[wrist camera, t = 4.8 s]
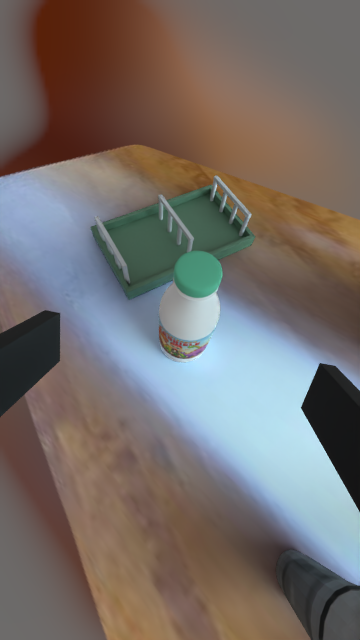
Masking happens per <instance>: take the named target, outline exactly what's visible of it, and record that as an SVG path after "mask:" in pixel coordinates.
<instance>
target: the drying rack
mask: <svg viewBox="0 0 360 640" xmlns="http://www.w3.org/2000/svg"><path fill="white" fill-rule="evenodd" d="M217 184H218V185H219V186H220V187H221V188H222V190H223V191H224V193H223V197H221V196H220V195H219V193H218V192H217V191H216V187H217ZM227 195H228V196H229V198H230V199H231V200H232V201H233V202H234V203H235V204H234V207H233V210H232V209H231V207H230V206H229V205H228V204H227V203H226V198H227ZM158 199H159V203H157V204H154V205H152V206H149V207H146V208H143V209H140V210H137V211H134V212H132V213H129V214H126V215H123V216H120V217H117V218H114V219H112V220H109V221H106V222H103V223H102V222H101V220H100V219H99V217H98V216H96V217H94V218H95V221H96V225H95V226H92V227H91V230H92V233H93V236H94V238H95V240H96V242H97V243H98V245H99V247H100V249H101V251H102V252H103V254H104V256H105V258H106V260H107V261H108V263H109V265H110V267H111V269H112V270H113V272H114V274H115V276H116V278H117V279H118V281H119V283H120V285H121V287H122V288H123V290H124V292H125V294H126V296H127V298H128V299H129V300H130V299H132V298H134V297H136V296H139V295H141V294H143V293H145V292H148V291H150V290H152V289H154V288H156V287H159V286H161V285H163V284H165V283H168V282H170V281H172V280H173V277H174V267H175V264H176V262H177V260H178V259H179V258H180V257H181V256H182V255H183V254H185V253H187V252H190V251H204V252H207V253H209V254H211V255H213V256H214V257H215V258H216V259H217V260H219V259H221V258H224V257H226V256H228V255H230V254H233V253H235V252H237V251H239V250H241V249H244V248H246V247H248V246H250V245H252V243H253V240H254V238H255V236H254V234H253V233H252V232H251V231H250V230H249V228H248V227H247V223H248V221H249V218H250V217H251V215H252V214H251V213H250V212H249V211H248V210H247V209H246V208H245V206H244V205H243V204H242V203H241V202H240V201H239V200H238V199H237V197H236V196H235V195H234V194H233V193H232V192H231V191H230V190H229V188H228V187H227V186H226V185H225V184H224V183H223V182H222V180H221V179H220V178H219V177H218V176H217V175H216V176H214V182H213V186H212V185H209V186H206V187H203V188H200V189H197V190H194V191H191V192H189V193H186V194H183V195H180V196H177V197H174V198H172V199H169V200H165V198H164V197H163V196H162V194H161V195H158ZM237 208H239V209H240V210H241V211H242V213H243V214H244V215H245V216H246V217H245V219H244V222H243V221H242V220H241V219H240V218H239V217H238V216H237V214H236V211H237Z"/></svg>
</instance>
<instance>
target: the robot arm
mask: <svg viewBox="0 0 360 640" xmlns="http://www.w3.org/2000/svg"><path fill="white" fill-rule="evenodd" d="M59 361H60V313H56V312H51V311H46V310H45V311H43V312H41V313H39V314H37V315H35V316H33V317H31V318H30V319H28V320H26V321H24V322H22V323H20V324H18V325H16V326H14V327H12V328H10V329H9V330H7V331H5V332H3V333H1V334H0V417H1V416H2V415H3V414H4V413H5V412H6V411H7V410H8V409H9V408H10V407H11V406H12V405H14V404H15V403H16V402H17V401H18V400H19V399H20V398H21V397H22V396H23V395H24V394H25V393H26V392H27V391H28V390H29V389H31V388H32V387H33V386H34V385H35V384H36V383H37V382H38V381H39V380H40V379H41V378H42V377H43V376H44V375H45V374H46V373H48V372H49V371H50V370H51V369H52V368H53V367H54V366H55V365H56V364H57V363H58V362H59ZM301 409H302V411H303V412H304V414H305V416H306V418H307V419H308V421H309V423H310V425H311V427H312V428H313V430H314V432H315V434H316V435H317V437H318V439H319V441H320V442H321V444H322V446H323V448H324V450H325V451H326V453H327V455H328V457H329V458H330V460H331V462H332V464H333V465H334V467H335V469H336V471H337V473H338V474H339V476H340V478H341V480H342V481H343V483H344V485H345V487H346V488H347V490H348V492H349V494H350V496H351V497H352V499H353V501H354V503H355V504H356V506H357V508H358V510H359V511H360V391H359V390H358V389H357V388H356V387H355V386H354V385H353V384H352V383H351V381H350V380H349V379H348V378H347V377H346V376H345V375H344V374H343V373H342V372H341V371H340V370H339V369H338V368H337V367H336V366H332V365H327V364H322V363H320V364H319V367H318V369H317V371H316V374H315V376H314V378H313V381H312V383H311V385H310V388H309V390H308V392H307V395H306V397H305V399H304V402H303V404H302V407H301Z"/></svg>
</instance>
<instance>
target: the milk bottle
mask: <svg viewBox="0 0 360 640" xmlns="http://www.w3.org/2000/svg"><path fill="white" fill-rule="evenodd" d="M221 279H222V267H221V264H220V263H219V261H218V260H217V259H216V258H215V257H214V256H213V255H211V254H209V253H207V252H204V251H190V252H187V253H185V254H183V255H182V256H181V257H180V258H179V259H178V260H177V262H176V264H175V267H174V277H173V283H172V284H171V285H170V286H169V287H168V288H167V290H166V291H165V292H164V294H163V296H162V299H161V302H160V306H159V342H160V347H161V349H162V351H163V352H164V354H165V355H166V356H167V357H168V358H170V359H171V360H173V361H176V362H181V363H186V362H191V361H194V360H195V359H197V358H198V357H199V356H200V355H201V354H202V353H203V351H204V350H205V348H206V346H207V344H208V342H209V340H210V338H211V336H212V334H213V332H214V330H215V328H216V325H217V323H218V320H219V316H220V301H219V298H218V295H217V293H216V292H217V290H218V287H219V285H220V282H221Z"/></svg>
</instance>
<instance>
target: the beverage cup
mask: <svg viewBox="0 0 360 640" xmlns="http://www.w3.org/2000/svg"><path fill="white" fill-rule="evenodd" d="M276 573H277V579H278V582H279V585H280V587H281V588H282V590H283V593H284V595H285V596H286V598H287V600H288V601H289V603H290V605H291V606H292V608H293V610H294V611H295V613H296V615H297V617H298V618H299V620H300V622H301V623H302V625H303V627H304V628H305V630H306V632H307V633H308V635H309V637H310V638H311V640H360V586H357V585H355V584H353V583H351V582H348V581H346V580H345V579H343V578H342V577H340V576H339V575H337V574H335V573H334V572H332V571H331V570H329V569H327V568H326V567H324V566H323V565H321V564H320V563H318V562H316V561H315V560H313V559H312V558H310V557H308V556H307V555H304V554H302V553H301V552H299V551H297V550H287V551H285V552H283V553H282V554H281V555H280V557H279V559H278V561H277V567H276Z"/></svg>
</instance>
